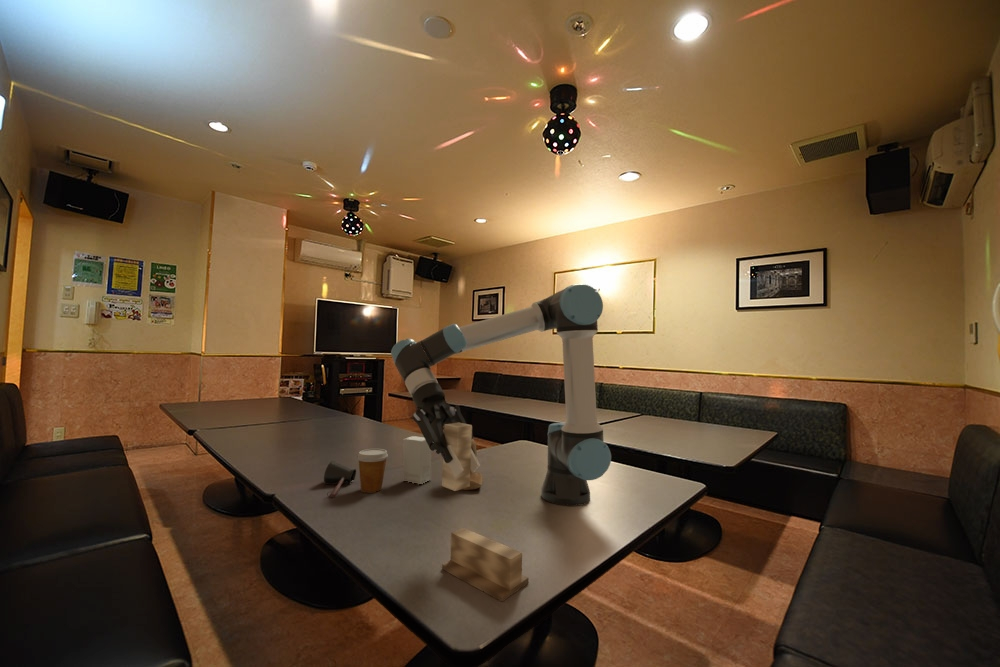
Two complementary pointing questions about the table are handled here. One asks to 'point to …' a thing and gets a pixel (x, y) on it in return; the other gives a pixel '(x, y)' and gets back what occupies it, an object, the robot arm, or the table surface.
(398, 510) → the table surface
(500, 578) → the ridge
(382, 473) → the disposable coffee cup
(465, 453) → the block
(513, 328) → the robot arm
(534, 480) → the table surface
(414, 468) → the skincare box
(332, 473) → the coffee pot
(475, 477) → the tan upright curved piece
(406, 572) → the table surface
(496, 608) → the table surface
